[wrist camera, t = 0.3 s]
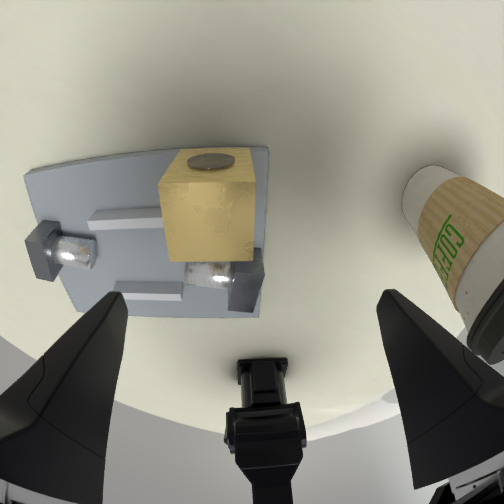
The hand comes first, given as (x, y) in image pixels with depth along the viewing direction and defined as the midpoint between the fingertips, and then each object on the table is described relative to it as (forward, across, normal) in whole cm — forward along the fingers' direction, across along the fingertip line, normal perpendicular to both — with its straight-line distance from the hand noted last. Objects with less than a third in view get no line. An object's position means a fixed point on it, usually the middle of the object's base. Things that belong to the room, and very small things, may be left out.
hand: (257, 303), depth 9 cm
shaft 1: (+12, +15, +5) cm, 20 cm away
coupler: (+12, +2, 0) cm, 12 cm away
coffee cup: (+13, -16, +1) cm, 21 cm away
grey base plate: (+13, +8, +6) cm, 17 cm away
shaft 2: (+12, +2, +8) cm, 14 cm away
